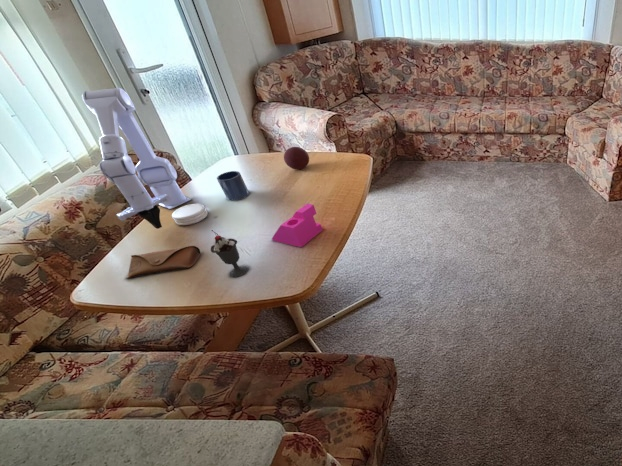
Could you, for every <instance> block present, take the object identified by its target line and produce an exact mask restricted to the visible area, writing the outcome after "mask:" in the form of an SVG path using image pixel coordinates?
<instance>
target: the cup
mask: <svg viewBox="0 0 622 466" xmlns="http://www.w3.org/2000/svg"><path fill="white" fill-rule="evenodd" d="M216 180H217V183H218V184H219V186H220V188H221V191H222V192H223V193H224V195H225V197H226V200H228V201H233V202H235V201H240V200H242V199H245V198H247V197H248V196H249V195H250V190H249V189H248V187H247V185H246V183H245V181H244V178H243V176H242V174H241V172H240V171H237V170H231V171H227V172H223V173H221V174H219V175H218V176H217V177H216Z"/></svg>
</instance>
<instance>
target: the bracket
mask: <svg viewBox="0 0 622 466" xmlns="http://www.w3.org/2000/svg"><path fill="white" fill-rule="evenodd" d="M315 215H317V210H316V207H315V204H312V203H306V204H305V205H303V206H302V207H300V208H299V209H297V210H296V211H295V213H294V214H293V215H292V216H291V217H290V218H289V219H287V220H286V221H284V222H283V223H281V225H279V227H278V229H276V231H275V233H274V235H273V236H272V238H271V240H272V241H273V242H278V243H282V244H285V245H290V246H294V247H299V248H303V247H304V246H305V245H306V244H308V243H309V242H310V241H311V240H313V239H314V238H315V237H316V236H317V235H319V234H320V233H321V232H322V231H324V229H323V226H322V224H321V223H320V222H319V223H318V222H316V220H315V217H314V216H315Z"/></svg>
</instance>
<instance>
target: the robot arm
mask: <svg viewBox="0 0 622 466" xmlns="http://www.w3.org/2000/svg"><path fill="white" fill-rule="evenodd" d="M81 99H82V101H83V103H84V104H85V106H86V107H87V108H88V109H89V110H90V112H91V113H93V114H94V115H95V117H96V120H97V122H98V125H99V129H100V131H101V134H102V136H100V137H99V138H98V143H99V148H100V154H101V158H102V161H100V162H99V169H100V171H101V174H102V175H103V176H104V177H105V178H107V179H108V180H109V181H110V182H111V184H113V185H115V186H116V187H117V189H118V190H119V191H120V193H121V194H122V196H123V197H124V198H125V200H126V201H127V203H128V204H129V206H130V207H127V208H126V209H124V210H123V211H121V212H118V213H117V214H115V216H116V217H117V219H118V220H120V221H121V222H124V221H126V220H127V219H129V218H131V217H133V216H136V215H137V216H139V217H140V218H142V219H144V221H147V222H148V223H149V224H150V225H152V226H153V228H155V229H156V230H157V229H160V228H163V226H162V223H161V217H160V214H161V209H160V207H159V206H161V207H163V208H165V209H168V210H172V209H175V208H176V207H178V206H181V205H184V204H185V203H188V202H190V201H191V200H192V198H190V197H187V196H185V195H184V193H183V191H182V189H181V188H180V186H179V184H178V183H177V181H176V180H177V178H178V173H177V170H176V168H175V167H174V165H173V164H172V163H171V162H170V161H169V159H167V158H164V157H160V156H157V155H156V153H155V151H154V150H153V148H152V146H151V145H150V143H149V141H148V140H147V138H146V136H145V134H144V133H143V130H142V129H141V127H140V125H139V123H138V121H137V120H136V118H135V116H134V113H133V112H134V111H136V107H135V104H134V103H133V101H132V99H131V98H130V96H129V94H128V93H127V92H126V90H124V89H123V88H121V87H114V88H106V89H97V90H84V91H82V94H81ZM119 128H120V129H121V132H122V133H123V135H124V136H125V138H126V140H127V141H128V144H129V145H130V146H131V148H132V150H133V152H134V153H135V155H136V157H137V158H138V160H139V161H138V162H137V163H136V165H135V163H134V162H133V160H132V158H131V156H130V155H129V154H128V150H127V149H128V148H127V144H126V140H125V139H124V138H123V137H122V136H120V134H119ZM136 172H137V174H136ZM144 185H145V186H148V187H149V188H150V191H151V192H152V194H153V195H154V197H152V196H151V195H150V194H149V191H147V189H146V187H145V186H144Z"/></svg>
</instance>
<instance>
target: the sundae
mask: <svg viewBox="0 0 622 466" xmlns="http://www.w3.org/2000/svg"><path fill="white" fill-rule="evenodd" d="M211 232H212V233H214V234H215V236H214V242H213V245H211V246H210V252H211V253H212V254H216V255H217V256H218V257H219V259H220V260H221V261H222V262H223V263H224V264H226V265H231V266H232V267H233V269H232V270H231V271H230V272H229V277H231V278H238V277H241V276H243V275H245V274H246V273H247V272H248V271H249V267H248V266H245V265H239V264H238V262H239V260H240V253H239V250H238V247H237V244H238V240H236V239H235V238H227V237H223V236H221V235H220V234H218V233H217V232H216V231H214V230H213V229H211Z"/></svg>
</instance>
